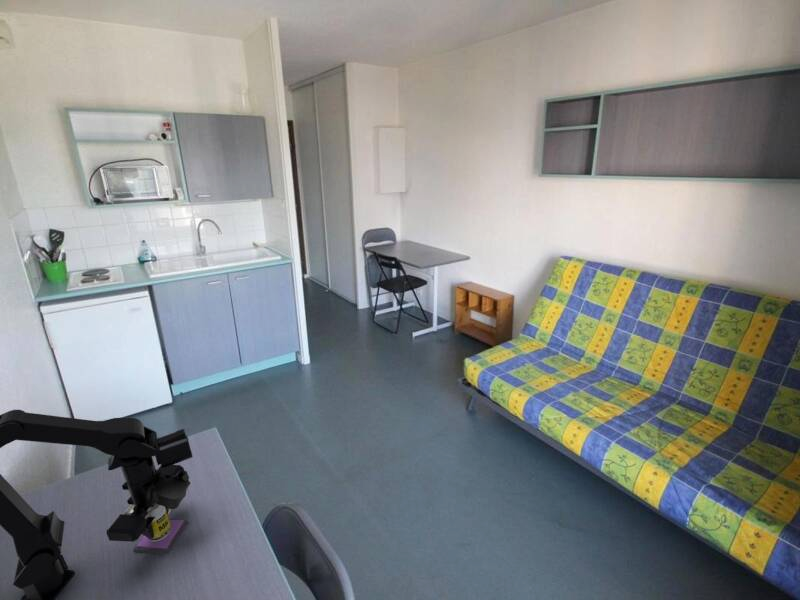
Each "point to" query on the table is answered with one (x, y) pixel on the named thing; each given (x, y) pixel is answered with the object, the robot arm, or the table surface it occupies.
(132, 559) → the table surface
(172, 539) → the ink pad
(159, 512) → the supplement bottle
